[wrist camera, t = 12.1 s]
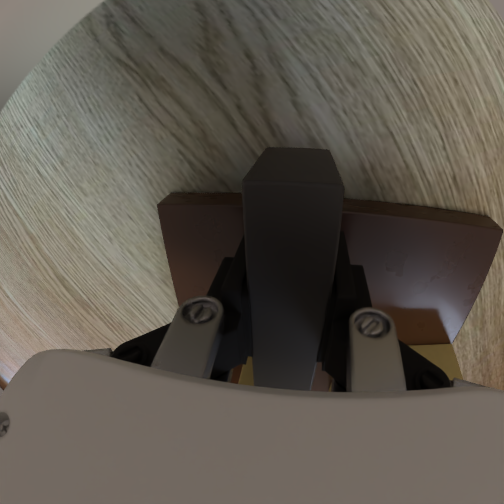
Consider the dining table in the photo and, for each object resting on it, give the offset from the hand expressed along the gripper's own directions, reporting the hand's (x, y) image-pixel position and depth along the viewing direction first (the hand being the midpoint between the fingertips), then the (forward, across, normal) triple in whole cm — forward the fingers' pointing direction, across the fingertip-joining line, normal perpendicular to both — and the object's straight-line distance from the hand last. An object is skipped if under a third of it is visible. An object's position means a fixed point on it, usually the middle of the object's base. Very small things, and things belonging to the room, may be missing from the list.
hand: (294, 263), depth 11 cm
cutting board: (+2, -2, +8) cm, 9 cm away
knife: (0, 0, +5) cm, 5 cm away
